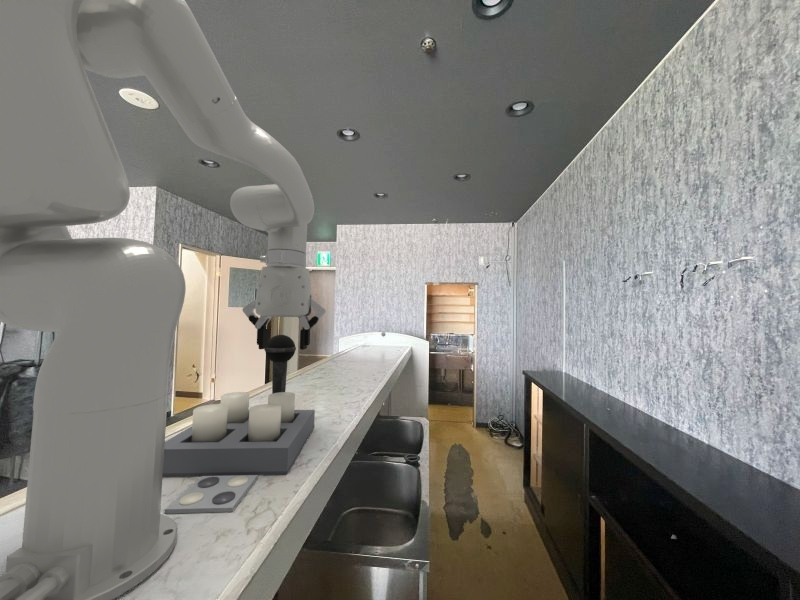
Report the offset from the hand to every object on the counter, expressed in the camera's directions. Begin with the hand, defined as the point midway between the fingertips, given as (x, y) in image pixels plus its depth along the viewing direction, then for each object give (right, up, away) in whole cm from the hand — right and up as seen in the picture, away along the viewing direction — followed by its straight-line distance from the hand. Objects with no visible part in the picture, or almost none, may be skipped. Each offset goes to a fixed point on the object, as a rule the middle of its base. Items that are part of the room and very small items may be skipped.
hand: (283, 348), depth 63 cm
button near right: (0, -14, -10) cm, 17 cm away
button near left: (-9, -14, -10) cm, 19 cm away
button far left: (-9, -14, -2) cm, 17 cm away
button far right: (0, -14, -1) cm, 14 cm away
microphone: (-4, -18, +8) cm, 21 cm away
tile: (-1, -17, -21) cm, 27 cm away
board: (-4, -17, -6) cm, 19 cm away
